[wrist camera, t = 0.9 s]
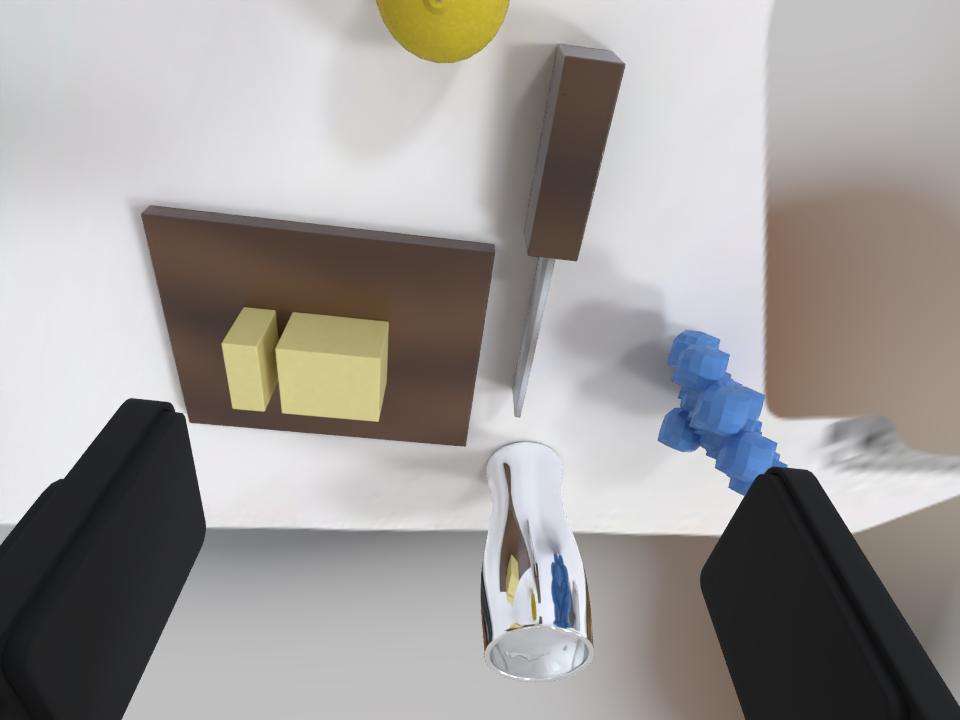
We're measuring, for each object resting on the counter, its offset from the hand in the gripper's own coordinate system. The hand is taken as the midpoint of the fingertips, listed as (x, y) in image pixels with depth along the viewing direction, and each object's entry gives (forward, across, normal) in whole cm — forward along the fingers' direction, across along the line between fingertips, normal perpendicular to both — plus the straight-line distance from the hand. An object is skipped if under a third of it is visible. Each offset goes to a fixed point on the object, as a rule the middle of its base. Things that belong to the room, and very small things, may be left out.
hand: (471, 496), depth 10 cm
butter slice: (+25, +12, +15) cm, 32 cm away
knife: (+26, -5, +7) cm, 28 cm away
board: (+26, +8, +15) cm, 31 cm away
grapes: (+27, -16, +14) cm, 34 cm away
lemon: (+26, +2, -6) cm, 27 cm away
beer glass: (+27, -7, +26) cm, 38 cm away
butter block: (+25, +7, +15) cm, 30 cm away
